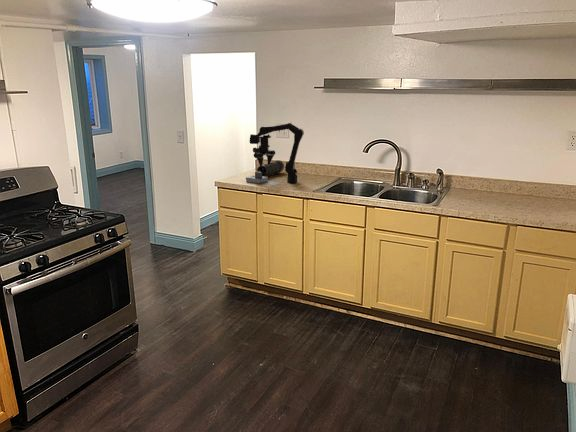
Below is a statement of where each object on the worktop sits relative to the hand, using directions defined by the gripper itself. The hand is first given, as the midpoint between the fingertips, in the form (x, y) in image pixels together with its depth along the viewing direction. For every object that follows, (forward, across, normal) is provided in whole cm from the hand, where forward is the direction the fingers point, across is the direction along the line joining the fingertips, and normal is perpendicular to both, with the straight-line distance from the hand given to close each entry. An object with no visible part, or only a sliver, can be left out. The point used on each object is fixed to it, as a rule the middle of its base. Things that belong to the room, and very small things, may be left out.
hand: (264, 165), depth 343 cm
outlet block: (+12, +5, -4) cm, 14 cm away
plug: (+11, +5, -2) cm, 12 cm away
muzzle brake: (+12, -23, -11) cm, 28 cm away
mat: (+12, +2, +8) cm, 15 cm away
